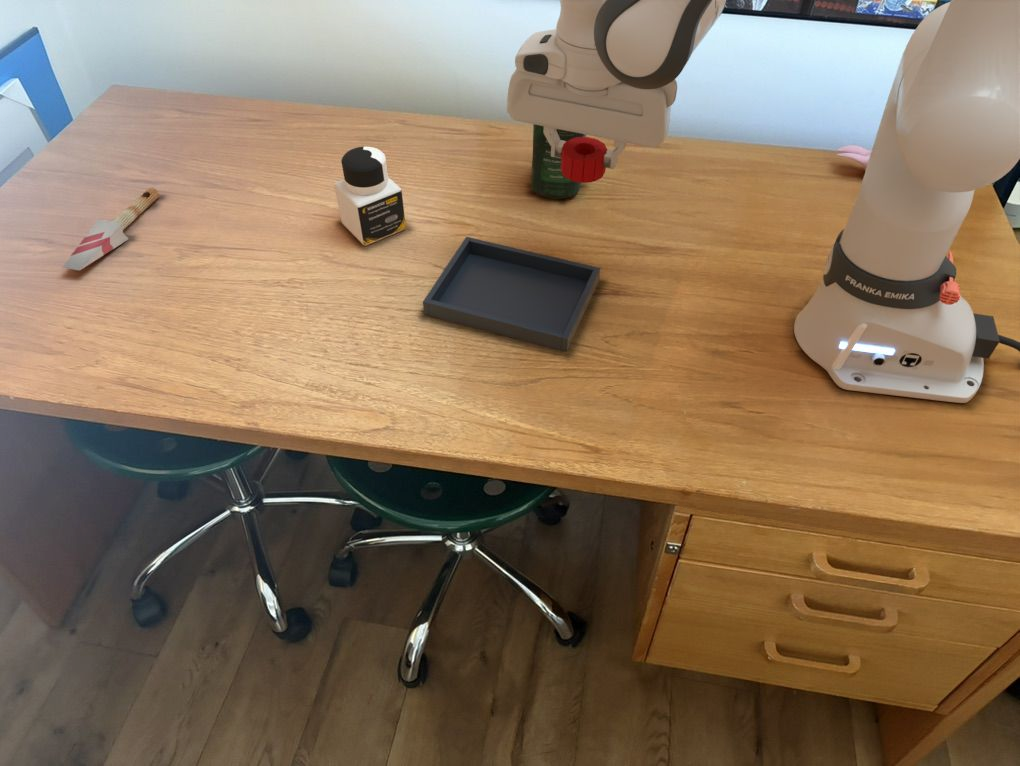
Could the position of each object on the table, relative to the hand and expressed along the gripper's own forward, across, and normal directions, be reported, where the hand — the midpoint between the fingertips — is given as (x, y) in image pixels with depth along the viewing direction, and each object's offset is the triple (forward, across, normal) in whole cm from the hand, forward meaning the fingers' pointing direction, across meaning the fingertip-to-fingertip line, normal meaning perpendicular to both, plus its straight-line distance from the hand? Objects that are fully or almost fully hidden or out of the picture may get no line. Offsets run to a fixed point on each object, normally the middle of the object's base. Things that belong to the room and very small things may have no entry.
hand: (583, 160), depth 103 cm
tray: (+14, +5, +13) cm, 20 cm away
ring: (+1, 0, 0) cm, 1 cm away
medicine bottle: (+15, +30, +5) cm, 34 cm away
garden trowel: (+15, +64, +20) cm, 68 cm away
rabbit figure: (+14, -40, -34) cm, 55 cm away
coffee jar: (+15, +8, -15) cm, 22 cm away
